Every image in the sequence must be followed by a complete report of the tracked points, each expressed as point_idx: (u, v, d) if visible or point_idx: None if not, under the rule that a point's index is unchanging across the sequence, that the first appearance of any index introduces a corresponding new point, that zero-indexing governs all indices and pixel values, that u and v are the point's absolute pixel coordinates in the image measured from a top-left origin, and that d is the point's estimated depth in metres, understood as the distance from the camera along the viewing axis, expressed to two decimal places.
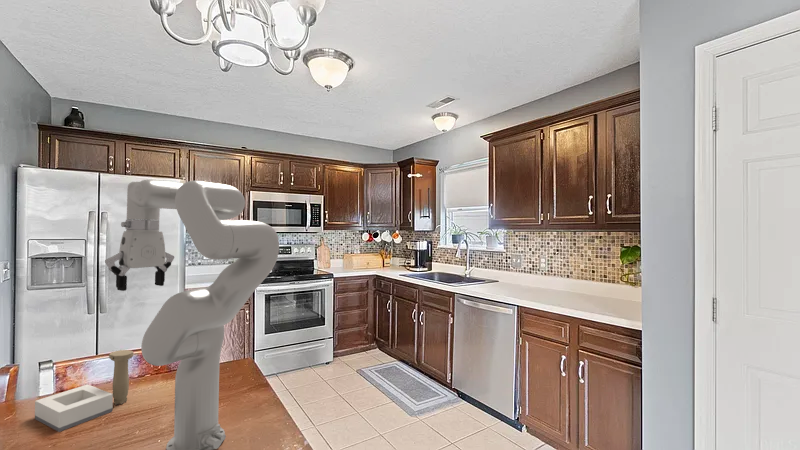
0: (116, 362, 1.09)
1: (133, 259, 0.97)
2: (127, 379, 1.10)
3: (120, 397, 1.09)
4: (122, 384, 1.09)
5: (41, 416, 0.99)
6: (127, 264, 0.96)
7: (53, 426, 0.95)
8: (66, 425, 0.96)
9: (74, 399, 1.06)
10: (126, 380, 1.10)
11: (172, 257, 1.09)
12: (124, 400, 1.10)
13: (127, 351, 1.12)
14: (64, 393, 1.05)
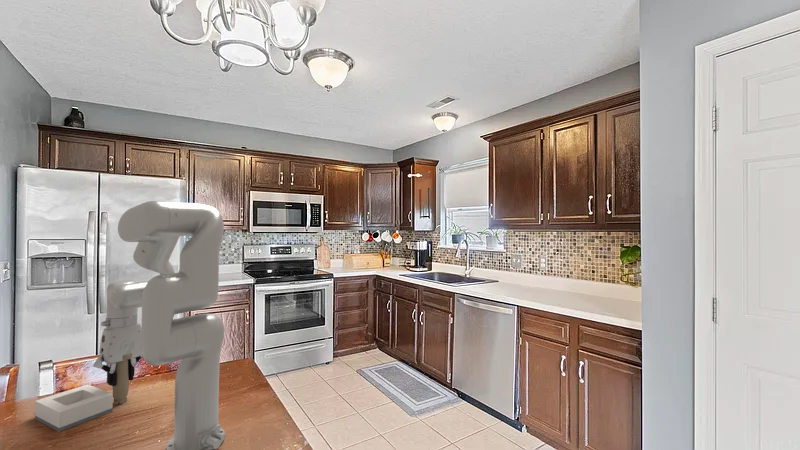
0: None
1: (112, 355, 1.06)
2: (127, 379, 1.10)
3: (120, 397, 1.09)
4: (122, 384, 1.09)
5: (41, 416, 0.99)
6: (106, 361, 1.05)
7: (53, 426, 0.95)
8: (66, 425, 0.96)
9: (74, 399, 1.06)
10: (126, 380, 1.10)
11: None
12: (124, 400, 1.10)
13: None
14: (64, 393, 1.05)
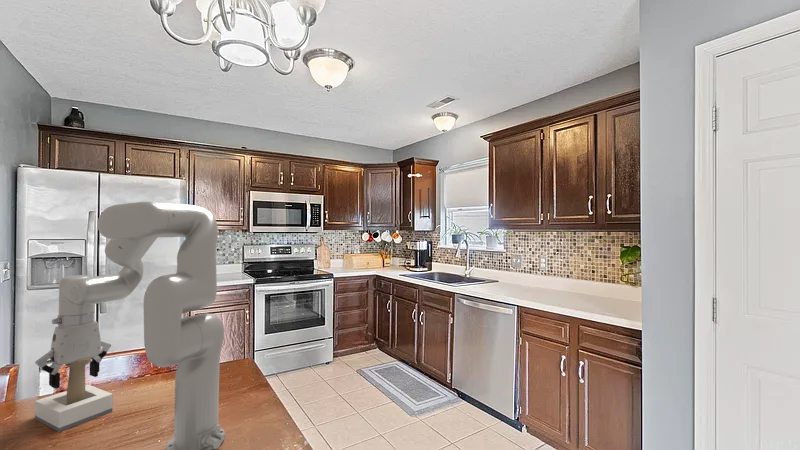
0: (71, 368, 1.01)
1: (64, 356, 0.98)
2: (83, 386, 1.03)
3: None
4: (76, 391, 1.01)
5: (41, 416, 0.99)
6: (57, 362, 0.97)
7: (53, 426, 0.95)
8: (66, 425, 0.96)
9: None
10: (82, 387, 1.02)
11: (109, 346, 1.10)
12: None
13: None
14: (64, 393, 1.05)
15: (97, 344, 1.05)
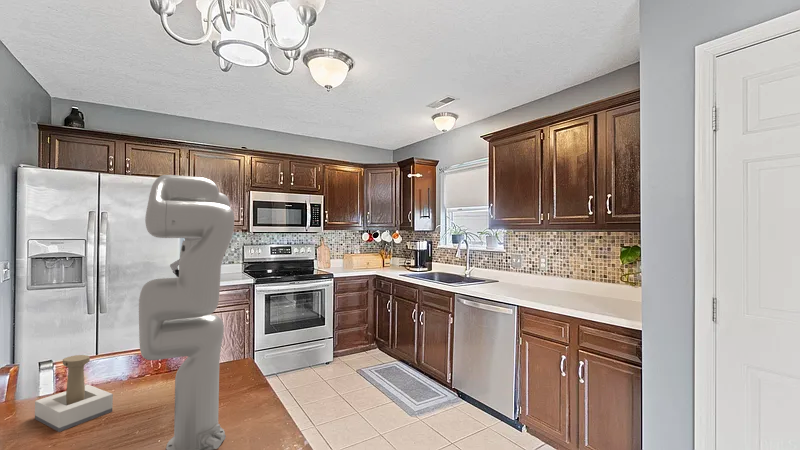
0: (70, 368, 1.01)
1: None
2: (82, 386, 1.03)
3: None
4: (76, 391, 1.01)
5: (41, 416, 0.99)
6: None
7: (53, 426, 0.95)
8: (66, 425, 0.96)
9: None
10: (81, 387, 1.02)
11: None
12: None
13: (83, 356, 1.05)
14: (64, 393, 1.05)
15: None
